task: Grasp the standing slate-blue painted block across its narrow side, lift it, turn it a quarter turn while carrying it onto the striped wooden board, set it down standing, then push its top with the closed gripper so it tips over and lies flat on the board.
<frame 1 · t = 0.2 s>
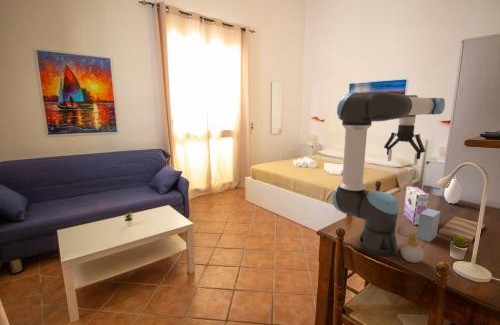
hand: (401, 162, 144), 28 cm above the table, fingers open, 13 cm apart
striped wooden board: (461, 229, 125), on the table
candy box: (413, 220, 136), on the table
slate block: (426, 236, 119), on the table
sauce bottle: (451, 203, 158), on the table
perfume bottle: (407, 259, 102), on the table
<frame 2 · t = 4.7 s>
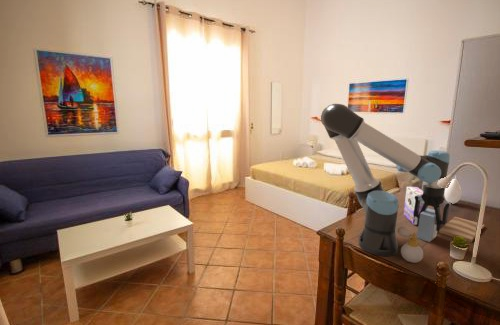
hand: (427, 234, 118), 1 cm above the table, fingers closed on slate block, 5 cm apart
slate block: (426, 236, 119), on the table, touching gripper
everything else where it was.
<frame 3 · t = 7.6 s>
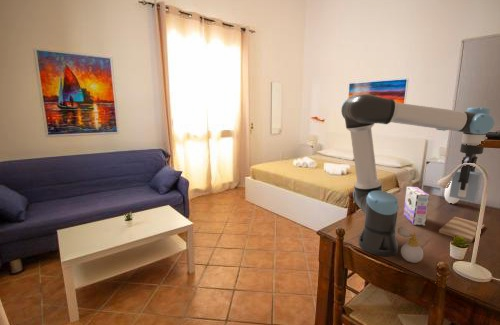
hand: (463, 195, 116), 20 cm above the table, fingers closed on slate block, 5 cm apart
slate block: (463, 197, 116), point 18 cm above the table, touching gripper
everything else where it was.
when the fingers open (3 cm above the table, at t = 10.6 s): slate block stays where it is, resting on striped wooden board.
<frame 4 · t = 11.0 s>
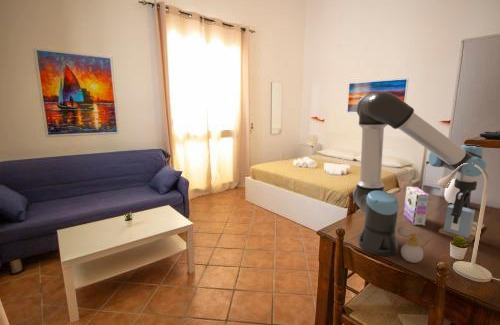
hand: (458, 226, 119), 4 cm above the table, fingers open, 10 cm apart
slate block: (456, 232, 120), point 1 cm above the table, touching striped wooden board
everything else where it was.
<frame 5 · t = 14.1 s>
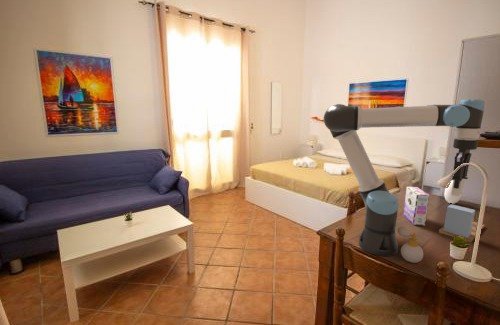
hand: (456, 194, 108), 23 cm above the table, fingers open, 3 cm apart
nothing on the table moved.
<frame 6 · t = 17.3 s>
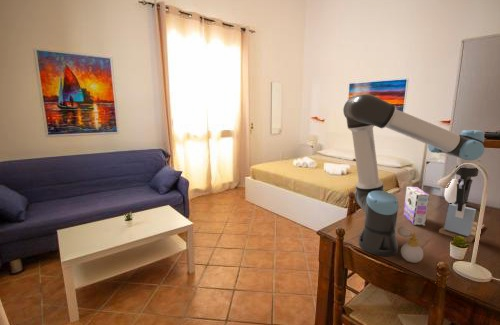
hand: (459, 217, 116), 10 cm above the table, fingers closed
slate block: (457, 231, 120), point 2 cm above the table, tilted 9°, touching gripper, striped wooden board
everything else where it was.
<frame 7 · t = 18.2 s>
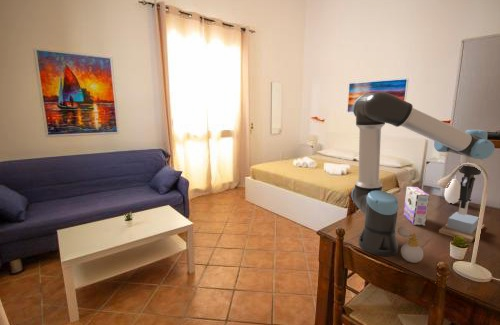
hand: (462, 214, 120), 10 cm above the table, fingers closed
slate block: (459, 226, 121), point 4 cm above the table, tilted 90°, touching striped wooden board
everything else where it was.
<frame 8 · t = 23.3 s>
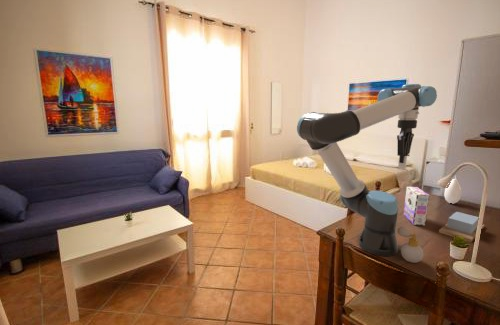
hand: (401, 169, 123), 29 cm above the table, fingers closed
nothing on the table moved.
at the end: slate block tilted 90°; slate block inside the target area (7.0 cm from its centre), point 3.7 cm above the table; the gripper is holding nothing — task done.
